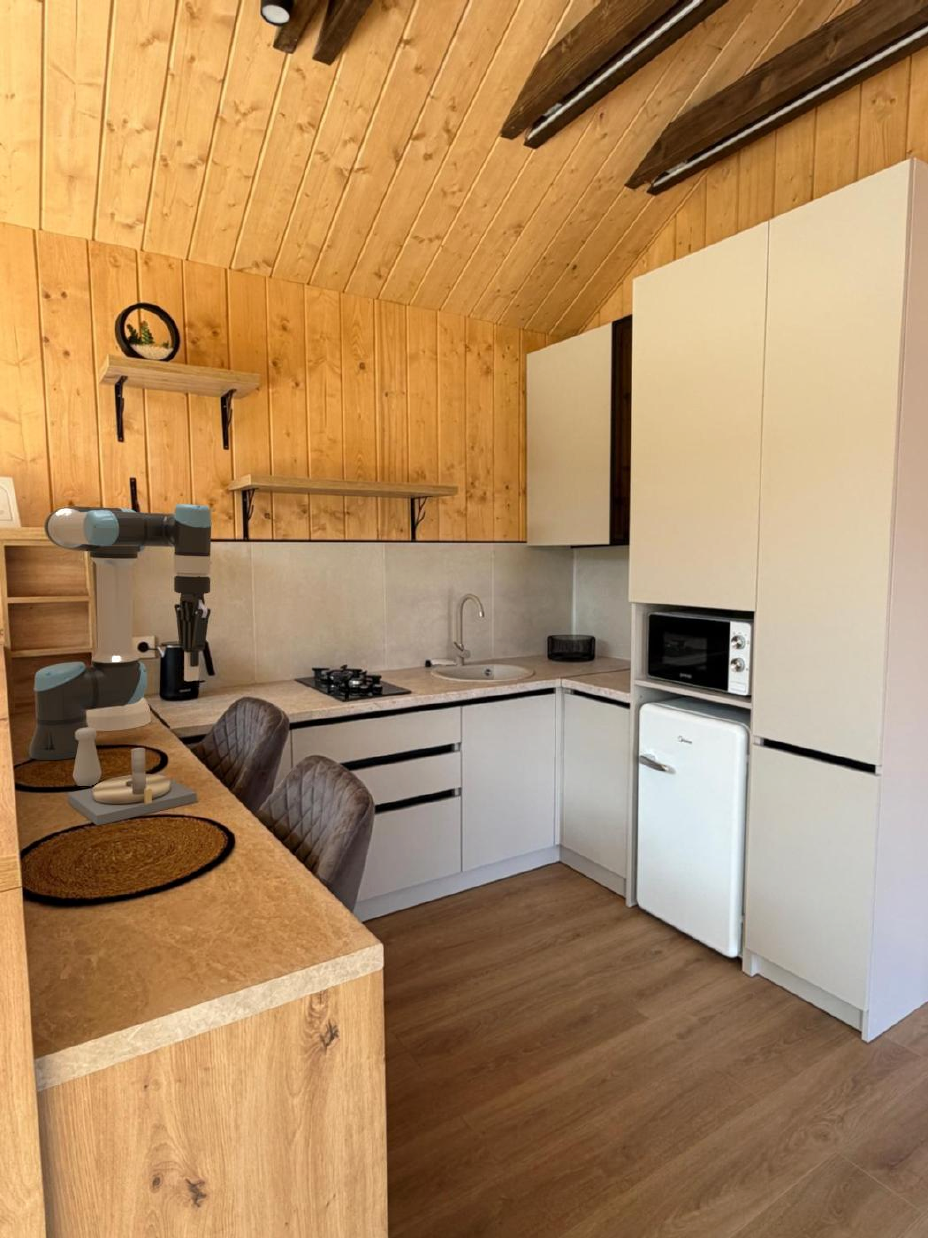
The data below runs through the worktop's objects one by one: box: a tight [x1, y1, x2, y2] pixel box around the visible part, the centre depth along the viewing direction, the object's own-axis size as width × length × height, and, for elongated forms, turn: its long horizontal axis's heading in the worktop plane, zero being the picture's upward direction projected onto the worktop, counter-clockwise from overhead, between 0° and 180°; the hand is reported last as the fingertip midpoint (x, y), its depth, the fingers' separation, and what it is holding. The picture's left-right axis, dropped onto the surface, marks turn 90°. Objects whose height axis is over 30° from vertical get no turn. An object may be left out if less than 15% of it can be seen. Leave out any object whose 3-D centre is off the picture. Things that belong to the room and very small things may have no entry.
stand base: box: [67, 773, 198, 827], centre depth 154 cm, size 18×20×5 cm
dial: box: [92, 747, 171, 804], centre depth 153 cm, size 15×15×10 cm
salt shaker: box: [72, 727, 102, 787], centre depth 165 cm, size 6×6×13 cm
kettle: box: [86, 696, 152, 732], centre depth 223 cm, size 20×21×18 cm
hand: (191, 680), depth 162 cm, fingers closed
